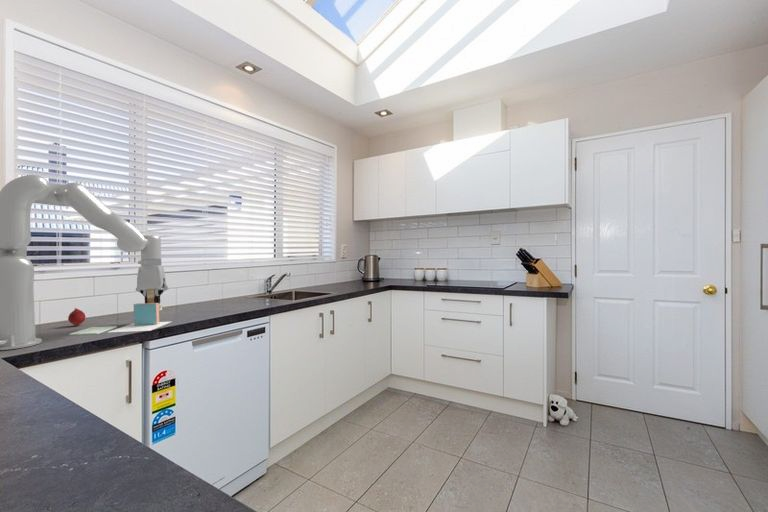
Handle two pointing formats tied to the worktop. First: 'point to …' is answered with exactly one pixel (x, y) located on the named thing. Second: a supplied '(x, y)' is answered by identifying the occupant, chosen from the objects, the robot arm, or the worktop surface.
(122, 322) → the worktop surface
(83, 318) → the onion
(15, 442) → the worktop surface
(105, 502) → the worktop surface
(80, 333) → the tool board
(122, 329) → the mat
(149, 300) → the wooden block stack
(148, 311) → the tile
